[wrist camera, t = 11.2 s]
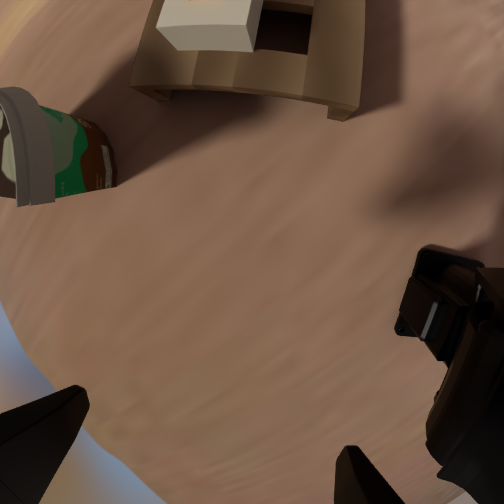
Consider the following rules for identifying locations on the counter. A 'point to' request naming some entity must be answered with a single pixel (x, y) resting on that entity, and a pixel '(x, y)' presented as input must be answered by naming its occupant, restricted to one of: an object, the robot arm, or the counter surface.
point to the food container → (49, 152)
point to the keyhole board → (265, 61)
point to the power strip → (210, 24)
